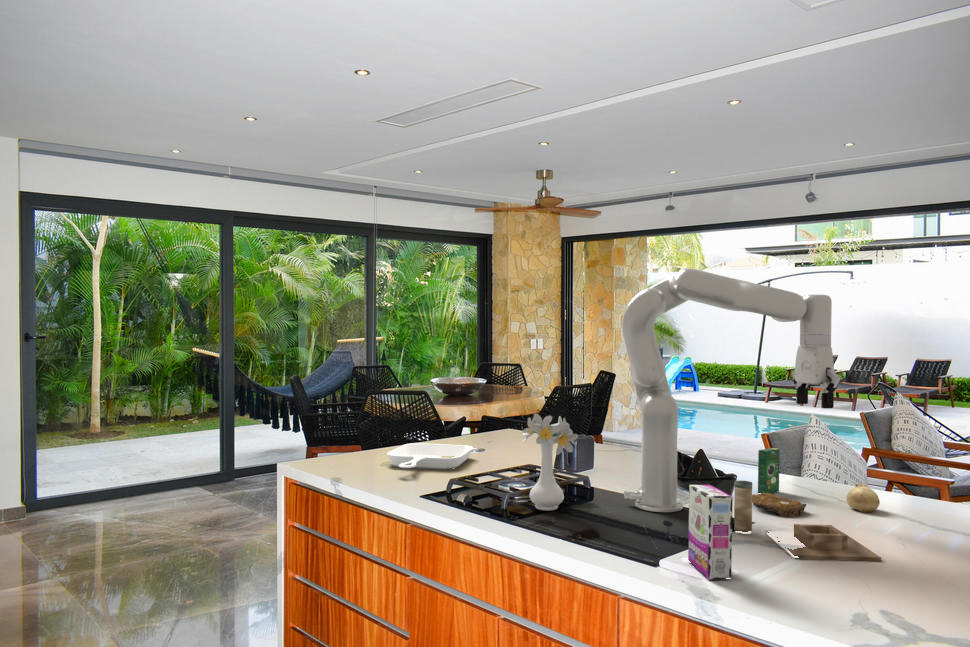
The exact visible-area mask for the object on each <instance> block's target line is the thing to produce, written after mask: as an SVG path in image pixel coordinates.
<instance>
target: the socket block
mask: <svg viewBox="0 0 970 647" xmlns="http://www.w3.org/2000/svg"><path fill="white" fill-rule="evenodd" d="M766 531H767V532H768V531H769V530H766ZM793 531H794V537H796V538H797V539H798V540H799V541H800V542H801V543H803V544H804V545H805V546H806V547H803V548H797V549H794V550H792V549H789V548H787V549H788V550H789V551H790V552H791V553H792V554H793V555H794V556H798V557H799V559H798V560H819V561H820V560H823V561H825V560H826V561H827V560H828V561H859V562H860V561H863V562H882V557H881V556H880V555H878V554H877V553H875V552H874V551H872V550H871V549H870V548H868V547H866V546H865V545H863V544H861V543H860V542H858V541H857V540H855V539H854V538H852V537H851V536H849V535H848V534H847V533H844V532H843V531H841V530H839V529H838V528H836V527H835V526H833V525H832V524H809V523H808V524H807V523H806V524H804V523H803V524H800V523H794V524H793ZM768 533H769V532H768ZM777 538H778V537H777ZM778 542H780V541H778ZM785 548H786V547H785Z"/></svg>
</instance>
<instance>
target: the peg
mask: <svg viewBox="0 0 970 647" xmlns="http://www.w3.org/2000/svg"><path fill="white" fill-rule="evenodd" d="M733 483H734V484H733V485H734V490H733V492H734V496H733V497H734V498H733V499H734V500H733V501H734V503H733V504H734V505H733V506H734V508H733V509H734V511H733V512H734V515H733V517H734V519H733V522H734V523H733V524H734V526H733V528H734V529H733V531H734V530H735V531H742V532H748V531H752V532H753V503H752V495H753V482H752V481H748V480H735V481H734V482H733Z"/></svg>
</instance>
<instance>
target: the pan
mask: <svg viewBox="0 0 970 647" xmlns="http://www.w3.org/2000/svg"><path fill="white" fill-rule="evenodd" d="M473 449H474V447H473V446H472V445H464V444H447V443H446V444H445V443H430V442H429V443H426V442H422V443H421V442H413V443H412V442H411V443H406V444H403V445H400V446H398V447H395V449H393V450H390V451H387V453H386V456H387V457H388V460H389V461H390V464H391V465H392V466H393V467H395V468H401V469H416V470H417V469H420V470H435V469H444V470H443V471H447V470H446V469H451V470H454V469H453V468H456V467H458V466H459V465H460V466H462V465H463V464H464V463H465V462H464V461H466V460H467V459H468V460H469V458H470V455H471V454H472V452H473ZM441 456H455V457H452V458H446V457H445V458H442V457H441ZM468 460H467V461H468ZM467 461H466V462H467ZM463 462H464V463H463ZM462 463H463V464H462ZM461 464H462V465H461ZM460 466H459V467H460ZM459 467H458V468H459ZM456 469H457V468H456Z"/></svg>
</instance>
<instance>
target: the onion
mask: <svg viewBox="0 0 970 647" xmlns="http://www.w3.org/2000/svg"><path fill="white" fill-rule="evenodd" d="M854 484H855V485H854V486H855V487H852V488H851V489H850V490H848V492H847V494H846V498H845V499H846V503H847V504H848V506H849V507H850V508H852V509H854V510H856V511H858V512H860V513H871V512H874V511H875V510H877V509H878V508H879V506H880V504H881V503H880V498H879V496H878V494H877V492H875V491H874V490H873V489H872V488H870V487H868V486H866V484H862V483H856V482H854Z"/></svg>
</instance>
